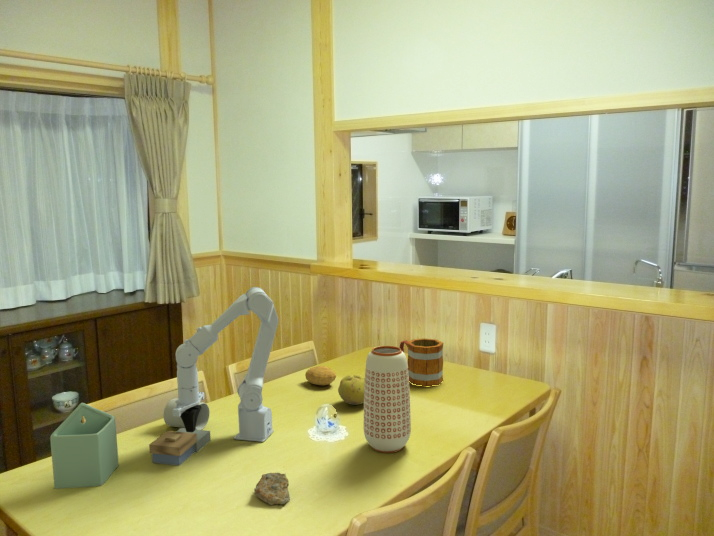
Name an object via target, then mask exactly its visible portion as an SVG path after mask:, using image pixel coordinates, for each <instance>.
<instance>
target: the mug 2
mask: <svg viewBox="0 0 714 536" xmlns="http://www.w3.org/2000/svg"><path fill="white" fill-rule="evenodd" d="M404 345H406V347H407V365H408V375H409V381H410V382H411V383H413V384H416V385H422V386H432V385H439V384H440V383H441V382H442V381H443V382H444V376H443V374H444V373H443V369H444V356H443V355H444V354H443V352H444V351H443V350H444V342H443V341H442V340H441V341H440V340H438V339H435V338H434V339H433V338H414V339H411V340H409V341H408V340H406V339H405V340H402V341H400V343H399V348H400V349H401V351H403V352H404V353H405V348H404V347H405V346H404Z"/></svg>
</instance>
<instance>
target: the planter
mask: <svg viewBox="0 0 714 536" xmlns="http://www.w3.org/2000/svg"><path fill="white" fill-rule="evenodd" d="M83 419H85V421H84V422H83V423H82V420H83ZM116 421H117V420H116V416H115V415H113V414H110V413H108V412H105V411H103V410H101V409H98V408H96V407H93V406H91V405H89V404H86V403H85V402H80V403H79V404H78V405H77V407H76V408H75V409H74V410H73V411H72V412H71V413H70V414H69V416H68V417H66V419H64V420H63V422H61V424H59V426H58V427H57V428H56V429H55V430H54V431H53V432H52V433H51V435H50V437H49V439H50V452H51V462H52V465H51V466H52V474H53V486H54V487H53V489H58V490H59V489H75V488H77V489H78V488H90V487H91V488H92V487H102V486H103V485H104V484H105V483H106V482H107V481H108V480H109V478H110V477H111V475H113V474H114V472H115V470H116V469H117V468H118V467H119V466H120V464H119V452H118V450H119V449H118V438H117V437H118V435H117V424H116Z"/></svg>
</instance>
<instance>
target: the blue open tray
mask: <svg viewBox="0 0 714 536" xmlns="http://www.w3.org/2000/svg"><path fill="white" fill-rule="evenodd" d="M194 453H196V452H195V451H194V445H192V446H191V447H190V448H189V449H188V450H187V451H185V452H184V453H183V454H182V455H181V456H174V455H164V454H155V453H151V456H152V463H155V464H163V465H172V466H180V465H182V464H183V463H184V462H185V461H187V459H189V458H190V457H191V456H192V455H193V454H194Z"/></svg>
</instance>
